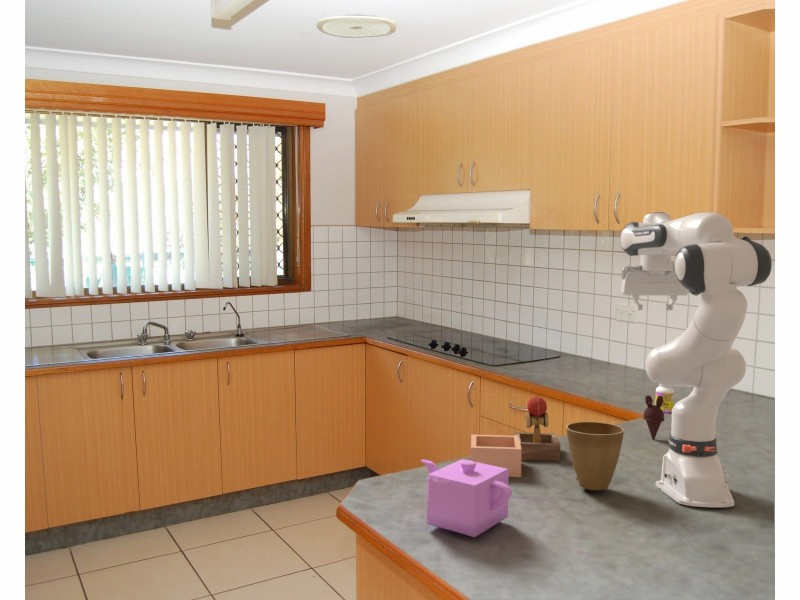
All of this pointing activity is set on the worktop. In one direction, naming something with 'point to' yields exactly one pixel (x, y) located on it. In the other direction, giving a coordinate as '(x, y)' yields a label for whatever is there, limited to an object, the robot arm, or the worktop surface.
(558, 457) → the block
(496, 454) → the stand
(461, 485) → the teapot
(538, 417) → the kendama
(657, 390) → the supplement bottle
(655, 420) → the icecream
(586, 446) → the plant pot
